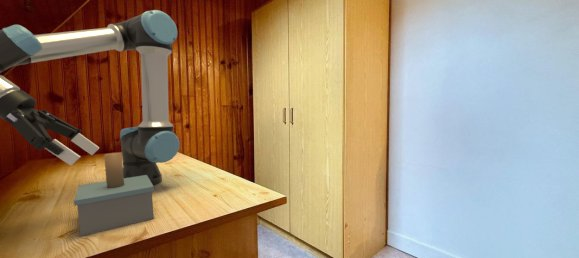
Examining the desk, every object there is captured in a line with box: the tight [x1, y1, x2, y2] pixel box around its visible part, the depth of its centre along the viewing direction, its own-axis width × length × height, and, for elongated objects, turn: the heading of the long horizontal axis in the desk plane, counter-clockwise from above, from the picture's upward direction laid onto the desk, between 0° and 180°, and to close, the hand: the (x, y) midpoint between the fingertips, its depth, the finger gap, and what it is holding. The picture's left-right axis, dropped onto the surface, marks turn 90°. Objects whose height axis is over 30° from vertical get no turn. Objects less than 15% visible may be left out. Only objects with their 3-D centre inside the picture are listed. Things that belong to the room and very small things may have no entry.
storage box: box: [76, 191, 155, 237], centre depth 74 cm, size 14×16×8 cm
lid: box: [73, 152, 155, 207], centre depth 73 cm, size 15×17×11 cm
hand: (86, 156), depth 70 cm, fingers open, 13 cm apart
